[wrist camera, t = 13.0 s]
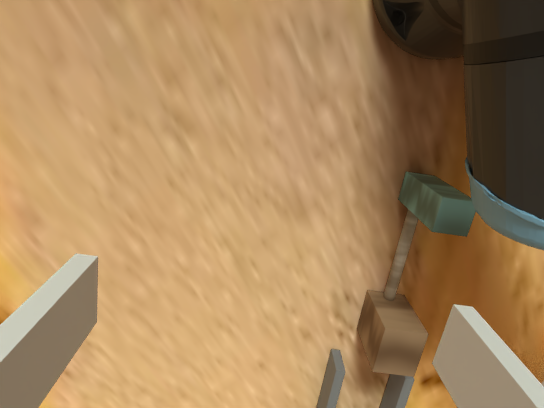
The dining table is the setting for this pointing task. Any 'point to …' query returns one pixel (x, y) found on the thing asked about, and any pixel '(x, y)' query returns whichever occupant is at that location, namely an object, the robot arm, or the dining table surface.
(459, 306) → the robot arm
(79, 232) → the dining table surface
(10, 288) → the dining table surface
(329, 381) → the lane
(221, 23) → the dining table surface
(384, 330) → the tethered block
